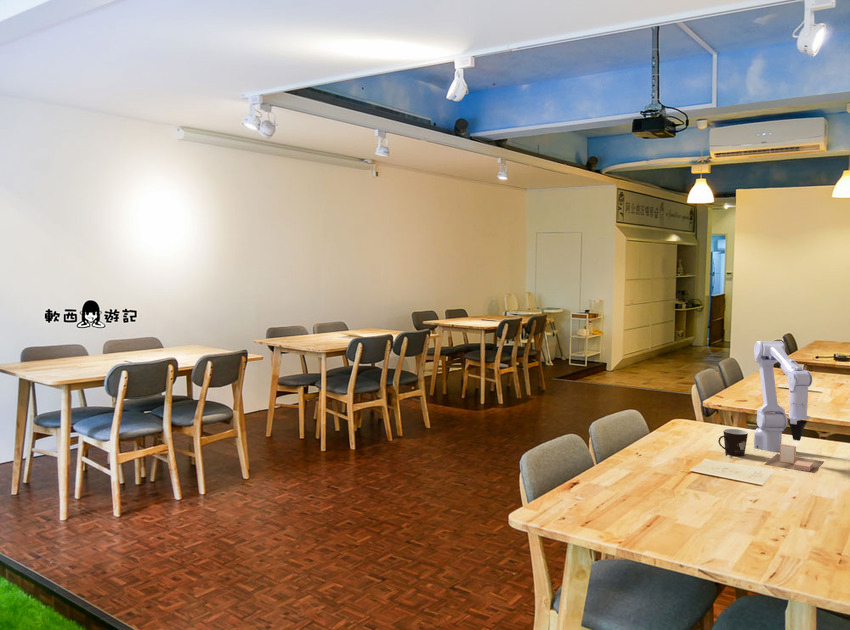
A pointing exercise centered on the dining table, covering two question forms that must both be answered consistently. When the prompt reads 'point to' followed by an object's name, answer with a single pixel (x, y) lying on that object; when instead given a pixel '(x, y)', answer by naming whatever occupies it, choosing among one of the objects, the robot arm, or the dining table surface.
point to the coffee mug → (734, 442)
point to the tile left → (787, 454)
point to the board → (776, 462)
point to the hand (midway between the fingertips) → (796, 440)
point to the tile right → (803, 465)
